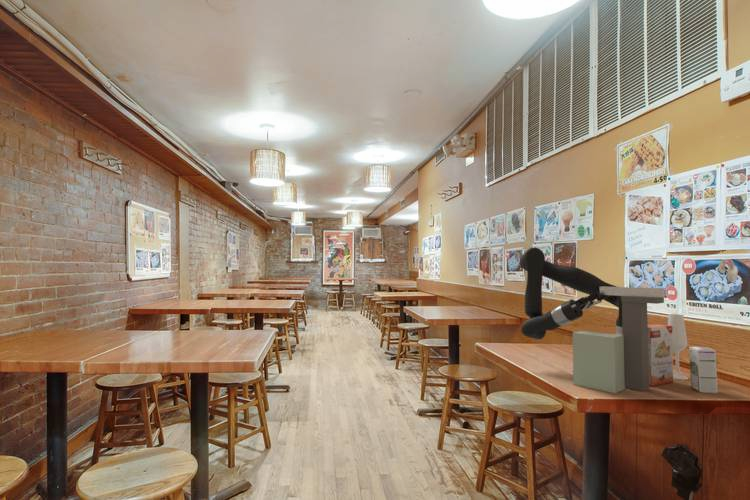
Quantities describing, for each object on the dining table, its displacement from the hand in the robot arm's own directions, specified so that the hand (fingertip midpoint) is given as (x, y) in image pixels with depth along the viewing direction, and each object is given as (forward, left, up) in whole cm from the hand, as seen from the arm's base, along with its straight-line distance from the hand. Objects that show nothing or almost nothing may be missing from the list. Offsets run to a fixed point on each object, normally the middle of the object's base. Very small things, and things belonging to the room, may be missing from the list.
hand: (603, 293), depth 157 cm
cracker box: (-18, +1, -33) cm, 37 cm away
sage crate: (+6, +7, -32) cm, 34 cm away
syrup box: (-28, +11, -33) cm, 44 cm away
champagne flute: (-32, -7, -33) cm, 46 cm away
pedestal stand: (-8, +10, -32) cm, 35 cm away
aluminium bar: (-6, +7, 0) cm, 9 cm away
